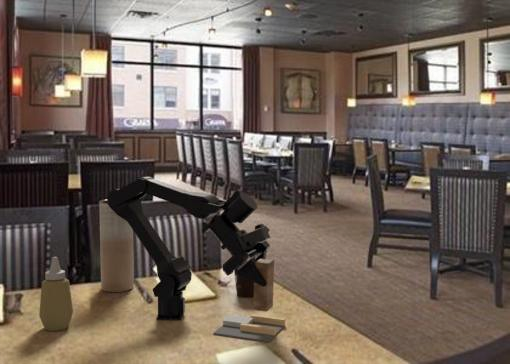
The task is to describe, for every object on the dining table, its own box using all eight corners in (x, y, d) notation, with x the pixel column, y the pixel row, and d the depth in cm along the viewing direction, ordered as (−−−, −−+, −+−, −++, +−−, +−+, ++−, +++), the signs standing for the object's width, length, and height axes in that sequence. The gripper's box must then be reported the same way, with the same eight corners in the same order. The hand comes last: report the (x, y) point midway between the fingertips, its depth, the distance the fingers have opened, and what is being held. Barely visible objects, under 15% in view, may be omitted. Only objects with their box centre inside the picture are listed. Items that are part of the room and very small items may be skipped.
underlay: (213, 334, 136) (213, 326, 136) (232, 318, 148) (233, 311, 147) (269, 342, 131) (269, 334, 131) (285, 325, 142) (285, 318, 142)
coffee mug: (258, 299, 164) (258, 266, 163) (230, 297, 166) (230, 264, 165) (265, 288, 175) (265, 257, 174) (239, 287, 177) (239, 256, 176)
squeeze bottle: (80, 324, 143) (78, 255, 141) (59, 335, 135) (57, 262, 133) (54, 320, 145) (52, 252, 144) (32, 330, 138) (30, 259, 136)
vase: (95, 292, 171) (94, 202, 168) (108, 283, 181) (107, 198, 178) (126, 293, 170) (125, 203, 167) (138, 284, 179) (136, 199, 177)
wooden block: (253, 309, 138) (254, 262, 136) (259, 304, 142) (261, 258, 141) (266, 311, 136) (267, 263, 135) (272, 306, 141) (274, 259, 139)
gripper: (235, 220, 130) (278, 272, 127) (263, 209, 147) (302, 255, 144) (204, 249, 133) (246, 301, 130) (236, 236, 151) (273, 281, 148)
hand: (268, 283), depth 138 cm, fingers closed on wooden block, 4 cm apart
